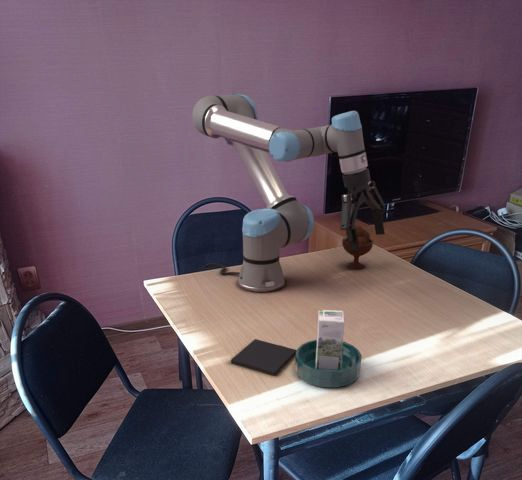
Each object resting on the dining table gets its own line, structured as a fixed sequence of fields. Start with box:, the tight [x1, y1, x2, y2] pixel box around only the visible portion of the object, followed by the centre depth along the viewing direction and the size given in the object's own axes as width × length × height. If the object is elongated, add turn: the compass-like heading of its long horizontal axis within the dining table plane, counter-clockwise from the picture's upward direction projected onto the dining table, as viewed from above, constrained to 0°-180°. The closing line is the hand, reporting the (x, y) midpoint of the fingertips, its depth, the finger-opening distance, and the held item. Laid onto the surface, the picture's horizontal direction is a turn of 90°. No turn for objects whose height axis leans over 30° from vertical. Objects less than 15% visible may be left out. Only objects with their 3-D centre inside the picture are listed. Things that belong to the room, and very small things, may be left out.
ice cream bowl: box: [341, 224, 374, 270], centre depth 177 cm, size 11×11×15 cm
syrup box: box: [316, 309, 346, 371], centre depth 116 cm, size 6×6×14 cm
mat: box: [230, 338, 297, 377], centre depth 125 cm, size 12×12×1 cm
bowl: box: [294, 339, 362, 388], centre depth 119 cm, size 15×15×4 cm
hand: (368, 242), depth 153 cm, fingers open, 13 cm apart
